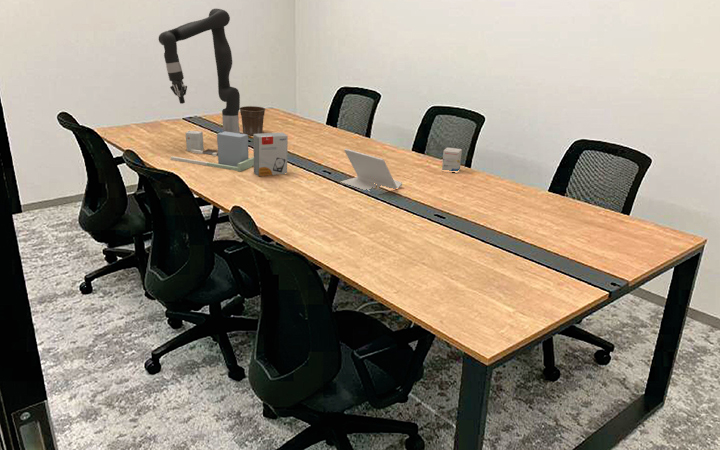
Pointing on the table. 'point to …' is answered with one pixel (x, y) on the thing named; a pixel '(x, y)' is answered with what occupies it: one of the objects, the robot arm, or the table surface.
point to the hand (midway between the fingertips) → (182, 103)
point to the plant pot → (252, 119)
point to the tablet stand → (369, 172)
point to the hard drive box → (270, 153)
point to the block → (232, 148)
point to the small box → (194, 140)
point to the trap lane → (241, 165)
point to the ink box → (451, 159)
